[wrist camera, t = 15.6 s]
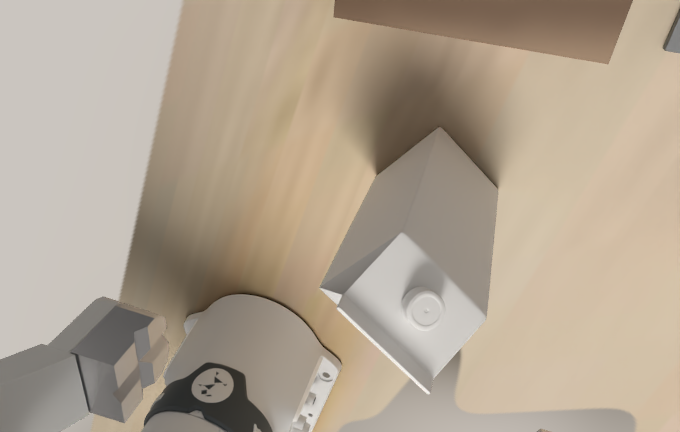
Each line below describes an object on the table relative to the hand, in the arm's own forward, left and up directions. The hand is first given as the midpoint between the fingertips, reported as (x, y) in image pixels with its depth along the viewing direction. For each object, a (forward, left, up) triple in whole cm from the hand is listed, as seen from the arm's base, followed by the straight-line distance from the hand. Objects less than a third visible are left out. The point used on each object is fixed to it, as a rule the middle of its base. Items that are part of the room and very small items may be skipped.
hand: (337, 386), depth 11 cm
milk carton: (-12, 0, -31) cm, 33 cm away
